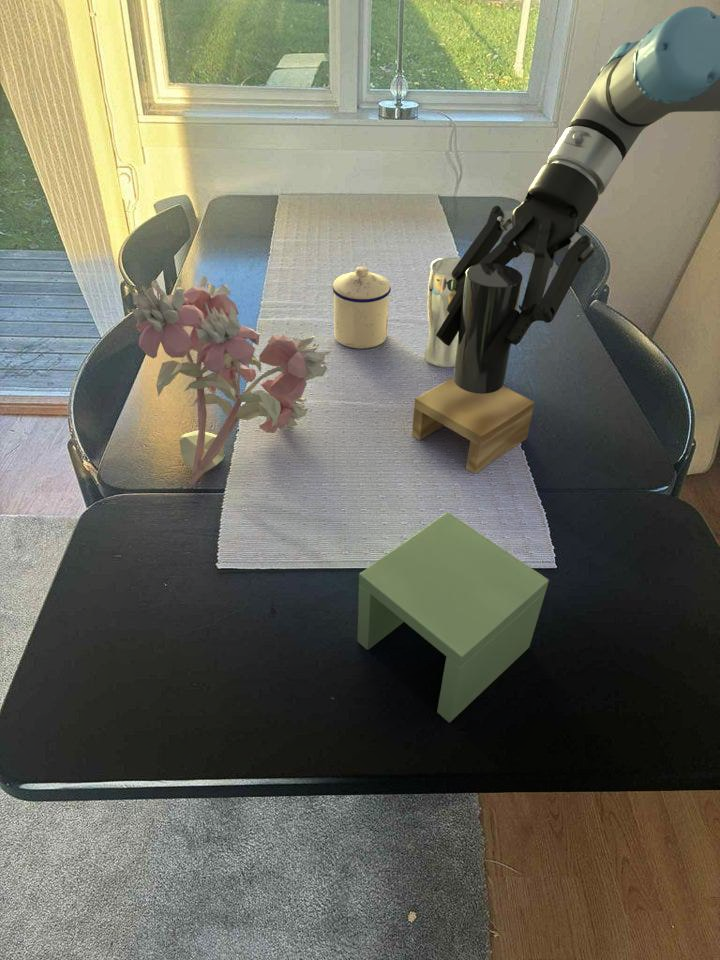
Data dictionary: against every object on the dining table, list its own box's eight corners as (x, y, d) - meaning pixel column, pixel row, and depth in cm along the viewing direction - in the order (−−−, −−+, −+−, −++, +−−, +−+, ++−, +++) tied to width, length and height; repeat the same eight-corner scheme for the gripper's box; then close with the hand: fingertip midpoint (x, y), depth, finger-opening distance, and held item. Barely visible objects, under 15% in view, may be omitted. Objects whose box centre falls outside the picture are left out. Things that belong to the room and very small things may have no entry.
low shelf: (526, 438, 94) (535, 402, 90) (474, 474, 89) (481, 436, 85) (464, 404, 100) (469, 368, 96) (411, 435, 94) (414, 398, 91)
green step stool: (529, 647, 69) (549, 579, 62) (449, 723, 62) (462, 657, 56) (438, 578, 75) (447, 511, 69) (357, 641, 69) (358, 573, 62)
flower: (325, 510, 81) (342, 286, 74) (124, 500, 78) (124, 267, 72) (318, 468, 100) (331, 288, 94) (156, 459, 97) (158, 272, 91)
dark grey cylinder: (514, 381, 88) (534, 275, 79) (482, 400, 85) (499, 292, 76) (474, 361, 92) (489, 258, 83) (442, 378, 88) (454, 273, 79)
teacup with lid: (399, 339, 114) (403, 271, 106) (354, 356, 110) (355, 286, 102) (356, 311, 121) (357, 245, 114) (312, 325, 117) (310, 258, 109)
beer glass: (417, 348, 112) (424, 257, 102) (458, 344, 113) (470, 255, 103) (428, 371, 107) (436, 278, 97) (471, 367, 108) (484, 275, 98)
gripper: (494, 141, 83) (392, 309, 85) (642, 182, 73) (521, 373, 75) (514, 178, 89) (418, 334, 91) (653, 221, 79) (541, 396, 81)
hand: (465, 351), depth 83 cm, fingers closed on dark grey cylinder, 6 cm apart
